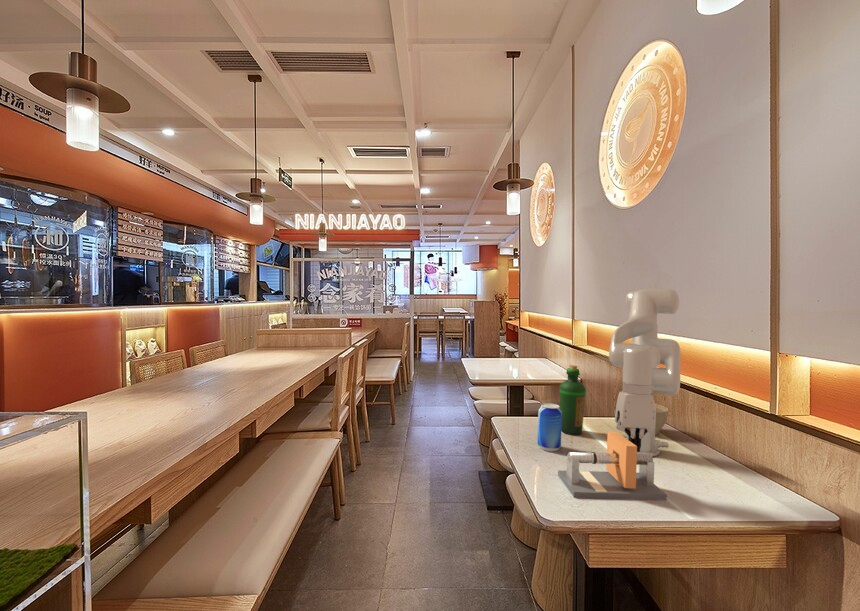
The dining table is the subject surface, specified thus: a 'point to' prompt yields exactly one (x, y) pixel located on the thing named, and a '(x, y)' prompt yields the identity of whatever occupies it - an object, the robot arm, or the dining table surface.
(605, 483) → the base board
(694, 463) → the dining table surface
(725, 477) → the dining table surface
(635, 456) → the collar
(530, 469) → the dining table surface
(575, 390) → the bottle
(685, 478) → the dining table surface
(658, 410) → the planter bowl
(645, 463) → the pipe
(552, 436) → the beer can
